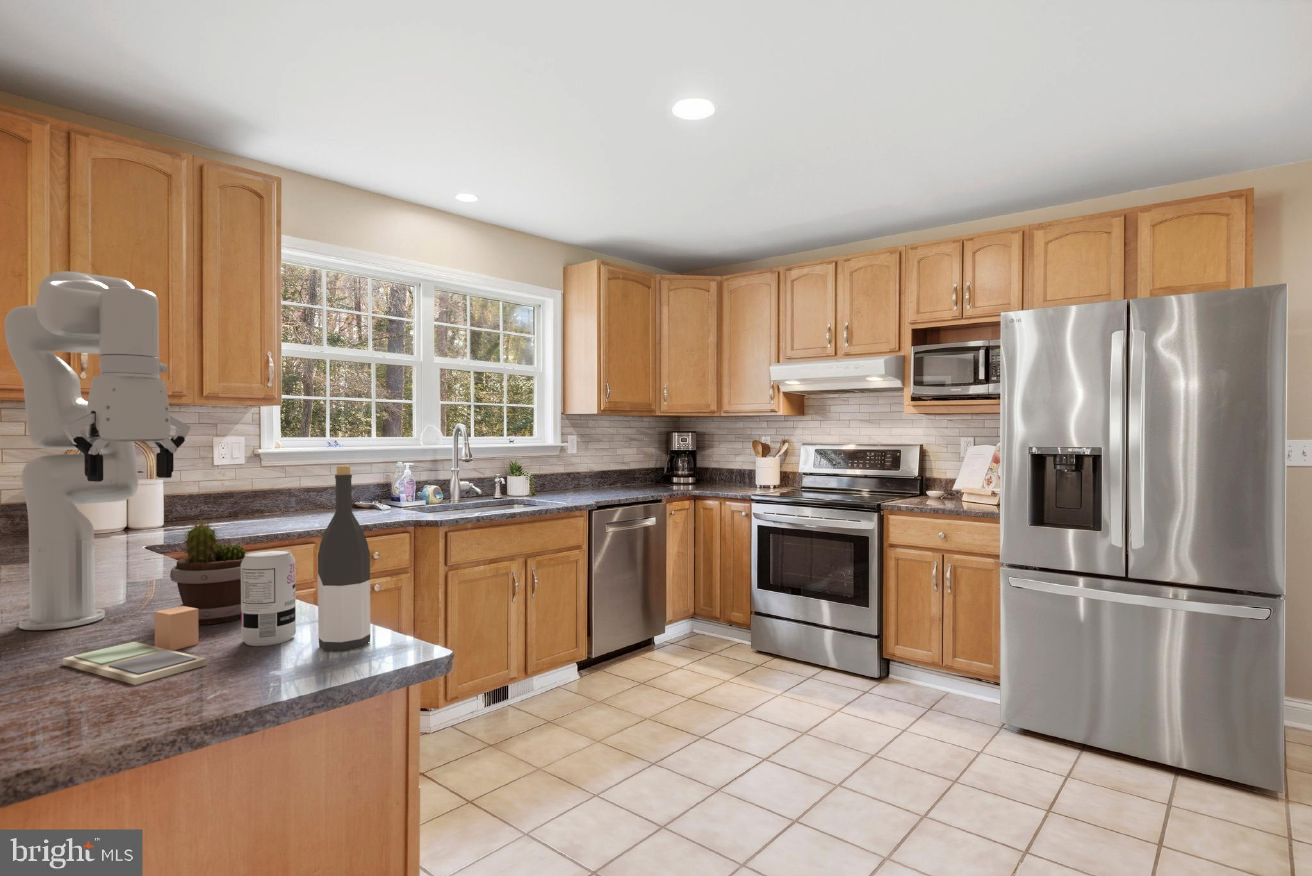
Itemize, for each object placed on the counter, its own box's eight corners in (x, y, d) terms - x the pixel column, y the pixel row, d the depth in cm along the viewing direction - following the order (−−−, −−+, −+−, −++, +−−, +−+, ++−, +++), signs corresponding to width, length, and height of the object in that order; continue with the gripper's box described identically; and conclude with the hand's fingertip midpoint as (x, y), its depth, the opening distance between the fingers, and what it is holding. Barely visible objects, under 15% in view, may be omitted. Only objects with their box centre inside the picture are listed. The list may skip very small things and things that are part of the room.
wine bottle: (368, 649, 120) (366, 466, 120) (314, 653, 118) (313, 467, 117) (372, 636, 128) (371, 464, 127) (322, 640, 125) (320, 465, 125)
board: (63, 664, 113) (62, 656, 113) (134, 647, 121) (134, 640, 121) (135, 685, 103) (135, 676, 103) (206, 664, 112) (206, 657, 112)
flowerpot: (221, 606, 150) (220, 509, 150) (278, 613, 145) (277, 512, 145) (151, 624, 136) (150, 517, 136) (210, 631, 131) (209, 520, 131)
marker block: (154, 647, 122) (154, 611, 122) (182, 640, 126) (182, 605, 126) (170, 651, 120) (170, 614, 120) (198, 644, 124) (198, 608, 124)
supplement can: (234, 640, 125) (233, 553, 125) (285, 631, 131) (284, 547, 131) (251, 650, 120) (250, 558, 120) (303, 639, 126) (302, 552, 126)
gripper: (174, 373, 123) (175, 475, 123) (51, 365, 108) (52, 482, 108) (201, 372, 119) (202, 477, 119) (77, 363, 104) (78, 483, 104)
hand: (131, 479), depth 113 cm, fingers open, 9 cm apart
